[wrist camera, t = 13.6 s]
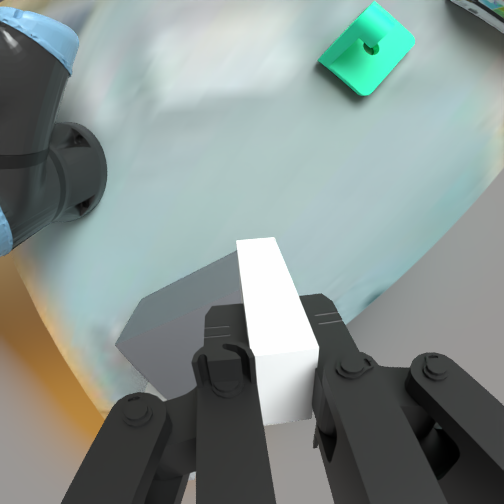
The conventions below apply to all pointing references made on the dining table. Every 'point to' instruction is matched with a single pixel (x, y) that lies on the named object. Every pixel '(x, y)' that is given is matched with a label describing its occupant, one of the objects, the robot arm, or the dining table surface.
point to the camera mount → (355, 57)
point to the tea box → (486, 11)
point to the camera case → (177, 325)
